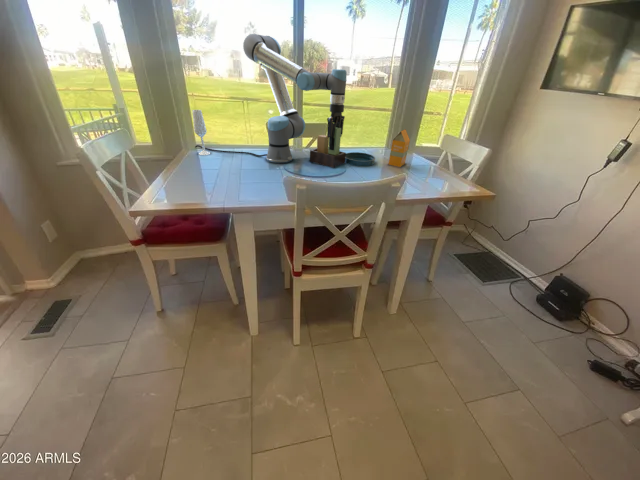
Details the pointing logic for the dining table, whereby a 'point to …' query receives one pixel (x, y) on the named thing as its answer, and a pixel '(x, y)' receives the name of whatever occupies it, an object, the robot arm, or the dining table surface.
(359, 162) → the bowl
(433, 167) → the dining table surface
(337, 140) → the packet sage
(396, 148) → the orange juice
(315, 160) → the box
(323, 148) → the packet kraft
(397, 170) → the dining table surface
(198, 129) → the champagne flute
